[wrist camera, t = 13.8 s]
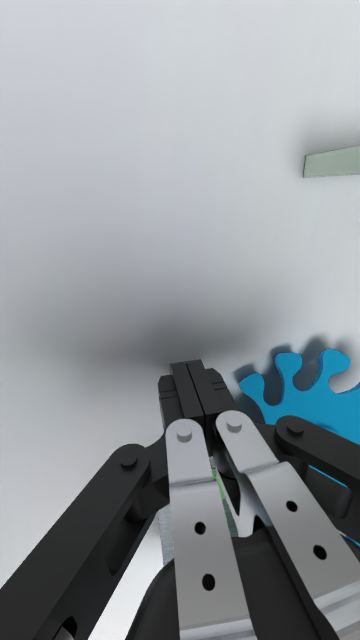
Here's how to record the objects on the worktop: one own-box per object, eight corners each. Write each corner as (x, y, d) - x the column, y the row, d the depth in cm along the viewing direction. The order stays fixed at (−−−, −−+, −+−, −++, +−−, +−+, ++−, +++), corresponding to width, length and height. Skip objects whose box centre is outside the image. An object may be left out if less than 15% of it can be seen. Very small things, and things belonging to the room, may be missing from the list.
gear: (387, 320, 14) (511, 556, 11) (342, 341, 19) (416, 499, 16) (177, 382, 15) (236, 609, 12) (193, 385, 20) (236, 539, 18)
